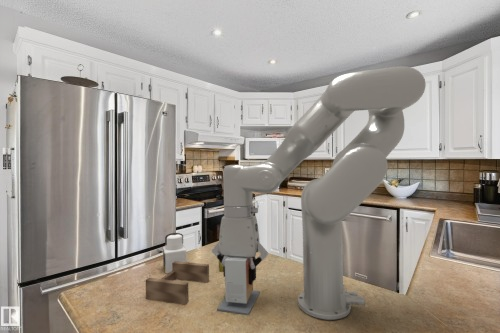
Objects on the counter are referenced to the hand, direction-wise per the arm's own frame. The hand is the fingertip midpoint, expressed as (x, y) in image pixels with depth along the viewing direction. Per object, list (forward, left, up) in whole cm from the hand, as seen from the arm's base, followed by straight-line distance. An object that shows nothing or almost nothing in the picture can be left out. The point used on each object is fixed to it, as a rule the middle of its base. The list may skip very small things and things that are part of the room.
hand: (239, 280), depth 65 cm
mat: (0, 0, -5) cm, 5 cm away
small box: (0, 0, -4) cm, 4 cm away
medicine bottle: (+29, -15, -6) cm, 33 cm away
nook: (+19, -2, -5) cm, 20 cm away
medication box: (+13, -22, -6) cm, 26 cm away
